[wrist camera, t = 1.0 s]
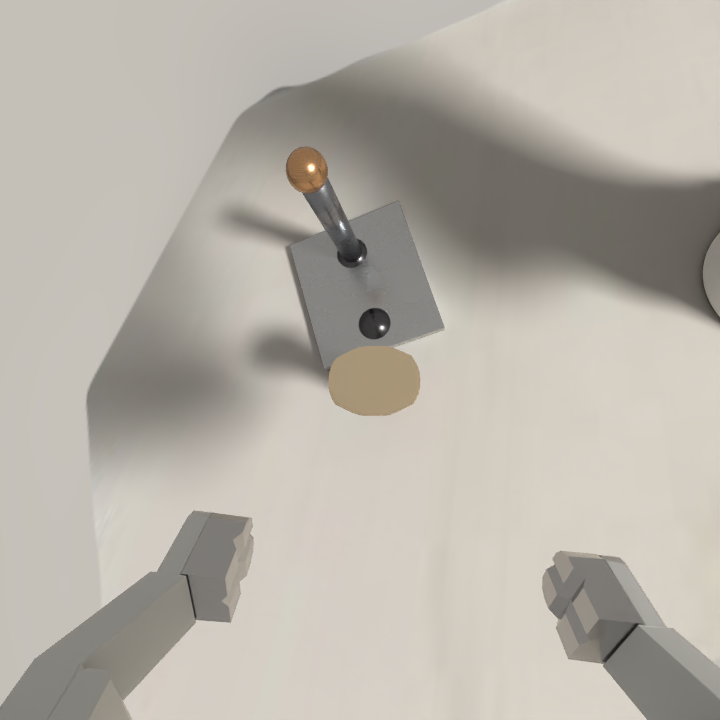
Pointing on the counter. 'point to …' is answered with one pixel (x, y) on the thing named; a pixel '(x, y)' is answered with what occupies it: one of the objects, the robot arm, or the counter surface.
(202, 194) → the counter surface
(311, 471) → the counter surface
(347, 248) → the lever with round knob
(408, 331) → the plate
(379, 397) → the handle
